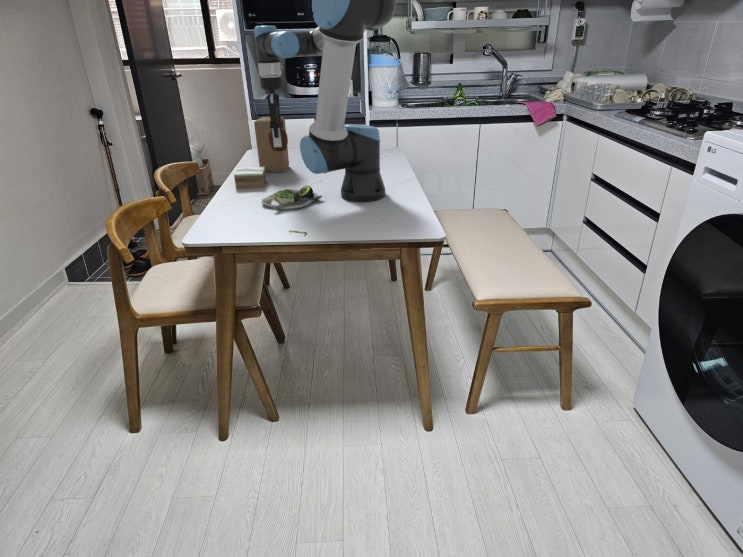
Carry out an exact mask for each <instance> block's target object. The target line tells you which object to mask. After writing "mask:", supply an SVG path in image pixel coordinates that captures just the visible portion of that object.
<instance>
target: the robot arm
mask: <svg viewBox="0 0 743 557" xmlns="http://www.w3.org/2000/svg"><path fill="white" fill-rule="evenodd" d="M396 9H397V0H311V10H312V11H311V12H312V13H313V15H312V17H313V20H314V23H315V24H316V26H317V27H316V28H314V29H312V30H301V31H300V30H294V31H292V30H289V31H288V30H280V31H278V28H277V27H276V25H256V26H255V27H254V29H253V30H254V42H255V43H254V44H255V50H256V58H257V67H258V74H259V76H260V79H259V81H260V88H261V90H265V91H266V90H267V92H268V94H266V99H267V105H268V111H270V113H269V117H270V120H271V126H270V128H272V134H273V142H274V147H282V143H281V134H280V128H279V120H278V115H279V114H280V117H282V116H281V110H280V106H281V105H280V94H279V93H278V91H277V90H281V89H283V88H284V84H283V83H284V81H283V77H282V76H281V75H282V74H283V73H282V69H283V68H284V67H283V65H281V59H290V58H297V57H298V58H300V57H316V56H317V57H321V66H320V73H319V74H320V75H319V83H318V94H317V103H316V112H315V113H316V114H315V121H314V122H313V123H311V124H310V126H309V128H308V129H309V130H308V135H304V136H302V138H301V139H300V141H299V151H300V154H301V155H300V156H301V158H302V161H303V162H304V165H305V167H306V169H308V170H309V171H310V173H312V174H314V175H319V174H327V173H331V172H336V171H340V170H344V176H343V181H342V184H341V187H340V196H341V198H342V199H344V200H347V201H351V202H357V203H359V202H362V203H363V202H365V203H368V202H374V201H378V200H381V199H383V198H384V197H385V196H386V187H385V183H384V181H383V178H382V175H381V165H380V164H381V162H380V161H381V160H380V159H381V158H380V156H381V155H380V154H381V153H380V149H381V147H380V145H381V140H380V138H381V137H380V131H379V129H378V127H375V126H372V125H367V124H366V125H365V124H358V123H356V124H355V123H353V124H352V123H347V124H346V123H345V120H346V114H347V108H348V102H349V101H348V100H349V94H350V88H351V82H352V74H353V69H354V68H353V67H354V60H355V54H356V47H357V45H358V44H359V43H361V42H362V41H363V38H364V33H365V32H366V31H369V32H374V31H377V30H379V29H381V28H382V27H385V26H386V25H387V24H389V23H390V21H392V19H393V18H394V16H395V13H396V11H397V10H396ZM274 123H275V124H274Z"/></svg>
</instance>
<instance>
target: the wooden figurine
mask: <svg viewBox="0 0 743 557" xmlns="http://www.w3.org/2000/svg"><path fill="white" fill-rule="evenodd" d="M268 111H269V110H268ZM269 114H270V111H269ZM280 116H281V113H280V114H279V115H278V120H279V128H280V134H281V143H282V147H274V142H273V134H272V130H270V131H269V133H268V139H269V143H270V146H271V148H272V150H274V151H284V150H285V149H286V148H287V147H288V145H289V144H288V142H289V141H288V139H289V138H288V134H287V131H286V132H285V131H284V130H283V129H282V128H283V121H282V120H281V117H282V116H281V117H280ZM269 124H270V126H271V120H270V122H269ZM274 124H275V123H274ZM271 129H272V128H271Z"/></svg>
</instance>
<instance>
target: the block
mask: <svg viewBox="0 0 743 557" xmlns="http://www.w3.org/2000/svg"><path fill="white" fill-rule="evenodd" d="M281 120H282V121H283V128H282V129H283V130H284V131H285V132H286V133H287V128H286V119H285V117H283V116H281ZM269 122H270V116H262V117H260V118H258V119H256V120H254V123H253V126H254V132H255V133H254V134H255V140H256V148H257V156H258V165H259V166H258V167H265V170H266V173H283V172H285V171H286V170H287V168H289V166H290V160H289V159H290V158H289V149H288V148H289V147H288V146H287V148H286V149H285V150H284V151H274V150H272V148H271V146H270V143H269V139H268V133H269V131H270V130H272V129H271V128H270V124H269Z"/></svg>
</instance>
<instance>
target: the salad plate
mask: <svg viewBox="0 0 743 557" xmlns="http://www.w3.org/2000/svg"><path fill="white" fill-rule="evenodd" d="M322 198H323V195H321V194H320V195H318V193H315V192H314V191H313V188H312V187H311V185H303V186H302V187H300V189H299V190H296V189H287V188H286V189H285V188H284V189H280V190H278V191H275V192H273V193H272V194H270V195H268V196H266V197H263V198H262V200H261V204H262V205H263V206H265V207H266V208H268V209H273V210H279V211H289V210H290V211H291V210H298V209H299V210H300V209H303V208H305V207H307V206H309V205H312V204H313V203H315V202H316V201H318V200H319V199H322ZM275 200H276V202H277V203H278V205H276V204H272V203H273V201H275Z"/></svg>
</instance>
